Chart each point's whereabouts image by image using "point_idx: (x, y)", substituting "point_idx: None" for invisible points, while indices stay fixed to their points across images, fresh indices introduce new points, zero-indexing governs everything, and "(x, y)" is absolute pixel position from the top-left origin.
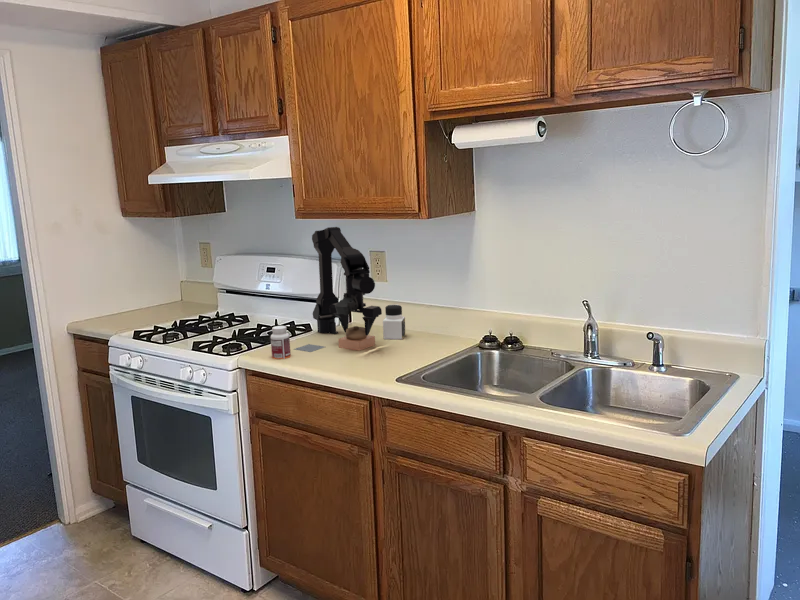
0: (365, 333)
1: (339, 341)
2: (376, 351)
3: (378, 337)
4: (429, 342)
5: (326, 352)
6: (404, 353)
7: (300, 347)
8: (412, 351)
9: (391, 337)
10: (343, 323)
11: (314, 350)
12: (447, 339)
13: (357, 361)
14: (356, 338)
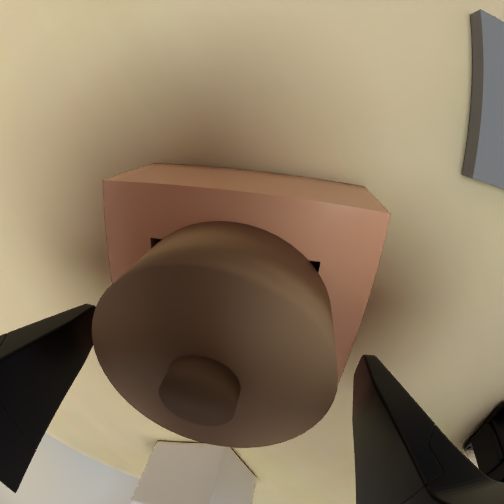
0: (80, 311)
1: (370, 204)
2: (97, 249)
3: (268, 456)
4: (63, 405)
5: (419, 94)
6: (5, 260)
7: None
8: (9, 296)
9: (191, 448)
10: (397, 432)
11: (486, 50)
12: (60, 427)
13: (76, 14)
14: (158, 242)
